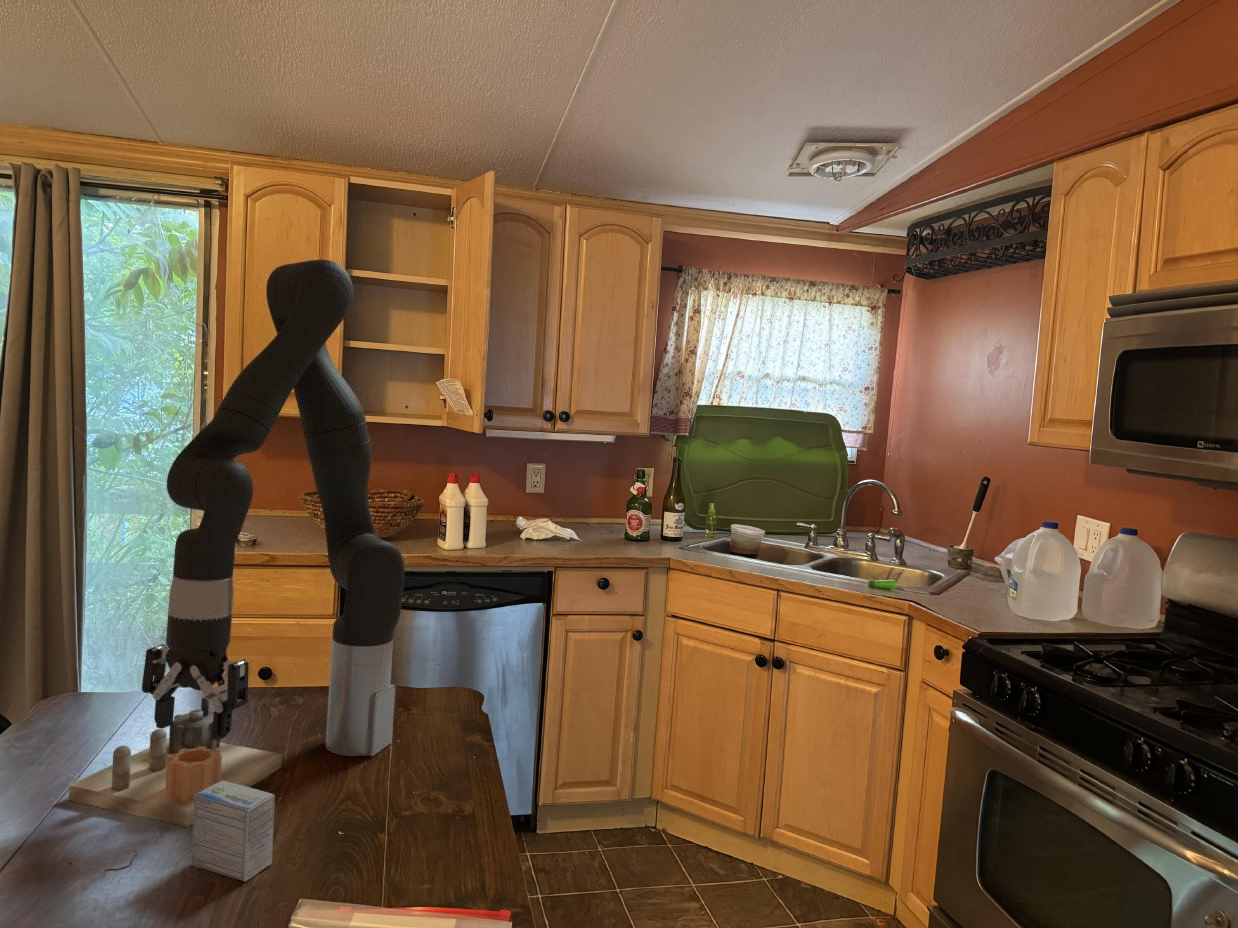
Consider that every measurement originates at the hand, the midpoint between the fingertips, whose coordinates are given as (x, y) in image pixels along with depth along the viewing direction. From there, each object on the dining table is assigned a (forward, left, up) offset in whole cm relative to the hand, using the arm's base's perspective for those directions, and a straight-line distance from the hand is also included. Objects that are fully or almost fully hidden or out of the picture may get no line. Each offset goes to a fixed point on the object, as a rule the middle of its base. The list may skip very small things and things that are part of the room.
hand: (191, 732), depth 111 cm
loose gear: (-1, 0, -8) cm, 8 cm away
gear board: (+5, -5, -10) cm, 12 cm away
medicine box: (-15, +10, -10) cm, 20 cm away
